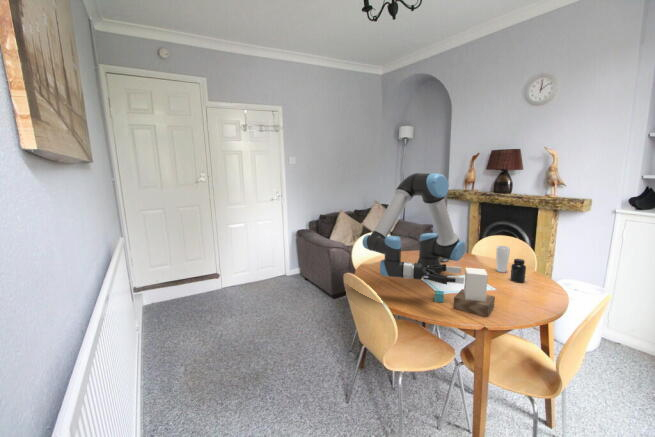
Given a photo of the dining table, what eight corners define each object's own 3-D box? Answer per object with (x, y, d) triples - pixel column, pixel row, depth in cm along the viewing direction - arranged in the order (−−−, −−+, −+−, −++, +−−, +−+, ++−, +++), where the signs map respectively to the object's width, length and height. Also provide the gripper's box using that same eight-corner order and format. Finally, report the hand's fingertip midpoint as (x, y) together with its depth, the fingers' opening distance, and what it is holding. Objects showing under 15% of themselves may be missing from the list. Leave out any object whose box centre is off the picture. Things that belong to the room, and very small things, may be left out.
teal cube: (434, 301, 145) (434, 293, 144) (434, 298, 149) (435, 290, 148) (443, 302, 144) (443, 294, 143) (443, 299, 147) (443, 291, 147)
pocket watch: (448, 259, 208) (449, 245, 207) (449, 263, 201) (449, 248, 199) (435, 258, 211) (436, 244, 209) (435, 262, 203) (436, 247, 202)
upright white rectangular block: (465, 299, 135) (467, 273, 133) (463, 292, 142) (465, 267, 140) (485, 301, 132) (487, 275, 130) (483, 294, 140) (484, 269, 138)
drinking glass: (492, 269, 188) (494, 245, 185) (503, 269, 188) (505, 245, 186) (499, 273, 181) (501, 248, 178) (510, 272, 182) (512, 248, 179)
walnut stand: (453, 307, 138) (454, 297, 137) (461, 298, 147) (462, 289, 146) (487, 317, 129) (488, 305, 128) (494, 306, 138) (494, 296, 138)
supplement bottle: (526, 283, 165) (529, 262, 163) (512, 282, 167) (514, 261, 165) (521, 278, 172) (523, 258, 170) (508, 278, 173) (510, 257, 171)
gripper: (414, 270, 157) (459, 274, 150) (411, 288, 133) (464, 294, 127) (415, 255, 155) (460, 259, 149) (411, 271, 132) (465, 276, 125)
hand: (462, 275), depth 138 cm, fingers open, 13 cm apart
